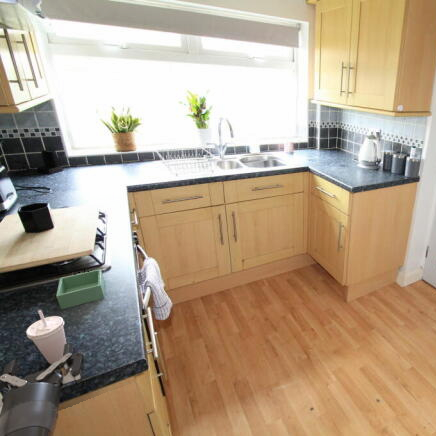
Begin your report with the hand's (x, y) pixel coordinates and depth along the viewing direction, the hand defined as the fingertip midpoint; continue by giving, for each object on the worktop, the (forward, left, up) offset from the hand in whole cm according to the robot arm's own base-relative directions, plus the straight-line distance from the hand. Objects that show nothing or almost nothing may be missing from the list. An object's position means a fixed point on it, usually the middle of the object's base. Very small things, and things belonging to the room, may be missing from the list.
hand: (42, 354), depth 65 cm
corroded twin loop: (+3, +45, -8) cm, 46 cm away
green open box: (+4, +33, -8) cm, 34 cm away
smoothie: (0, +8, -8) cm, 11 cm away
